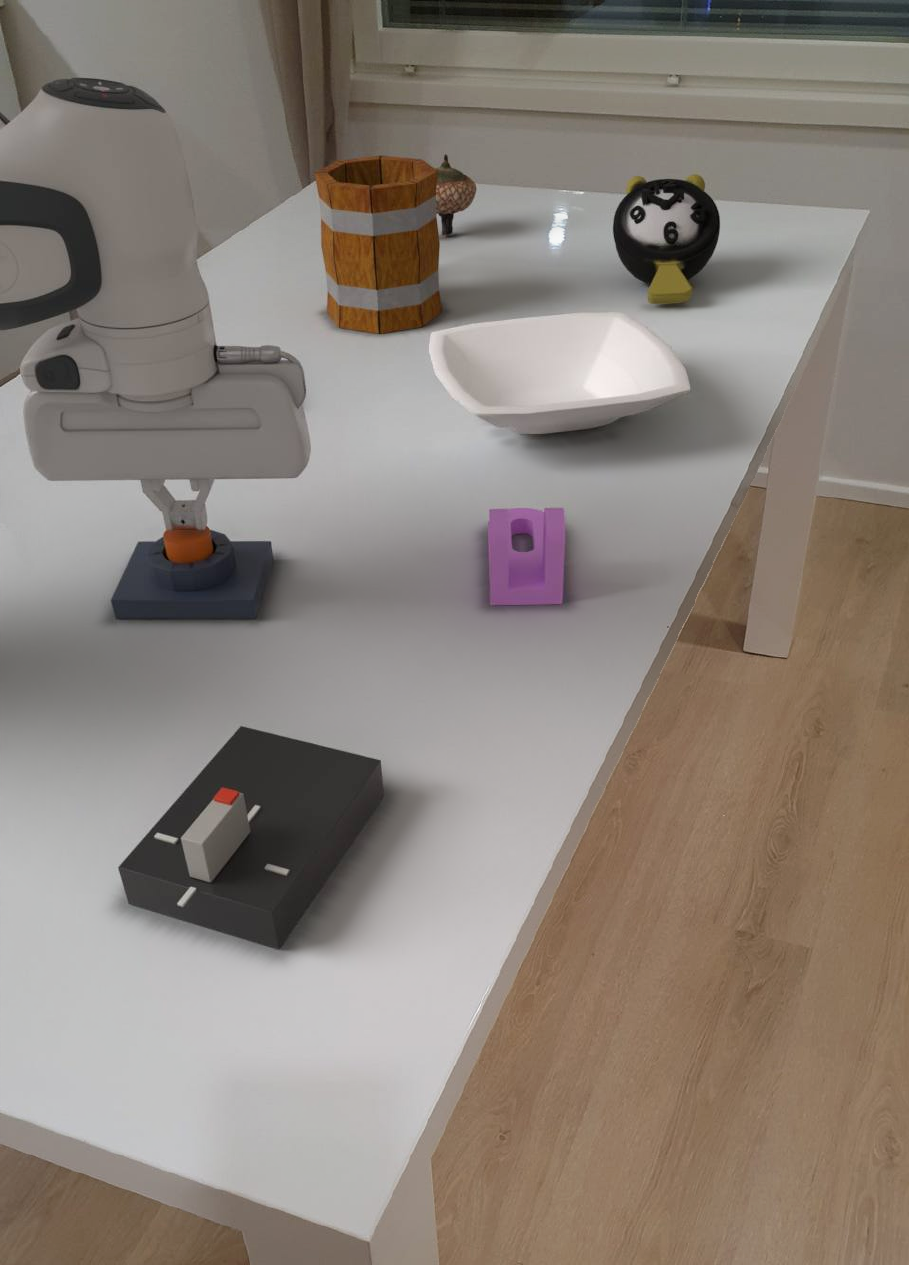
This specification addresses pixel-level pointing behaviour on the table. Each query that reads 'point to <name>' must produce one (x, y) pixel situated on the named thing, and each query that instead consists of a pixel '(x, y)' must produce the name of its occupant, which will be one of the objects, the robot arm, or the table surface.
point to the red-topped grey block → (216, 835)
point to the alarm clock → (666, 234)
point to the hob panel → (259, 836)
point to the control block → (194, 582)
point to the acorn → (452, 194)
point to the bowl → (557, 370)
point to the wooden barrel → (380, 243)
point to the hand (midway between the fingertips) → (187, 526)
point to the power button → (188, 545)
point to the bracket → (526, 556)
